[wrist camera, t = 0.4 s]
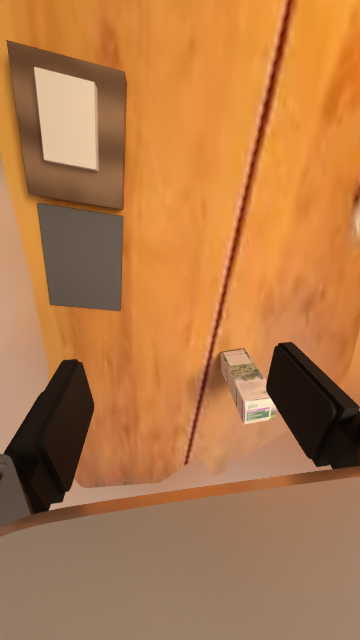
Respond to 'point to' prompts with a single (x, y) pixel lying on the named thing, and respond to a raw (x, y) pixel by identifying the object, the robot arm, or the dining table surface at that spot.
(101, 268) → the mat
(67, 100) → the tile
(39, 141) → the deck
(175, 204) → the dining table surface
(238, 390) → the syrup box
